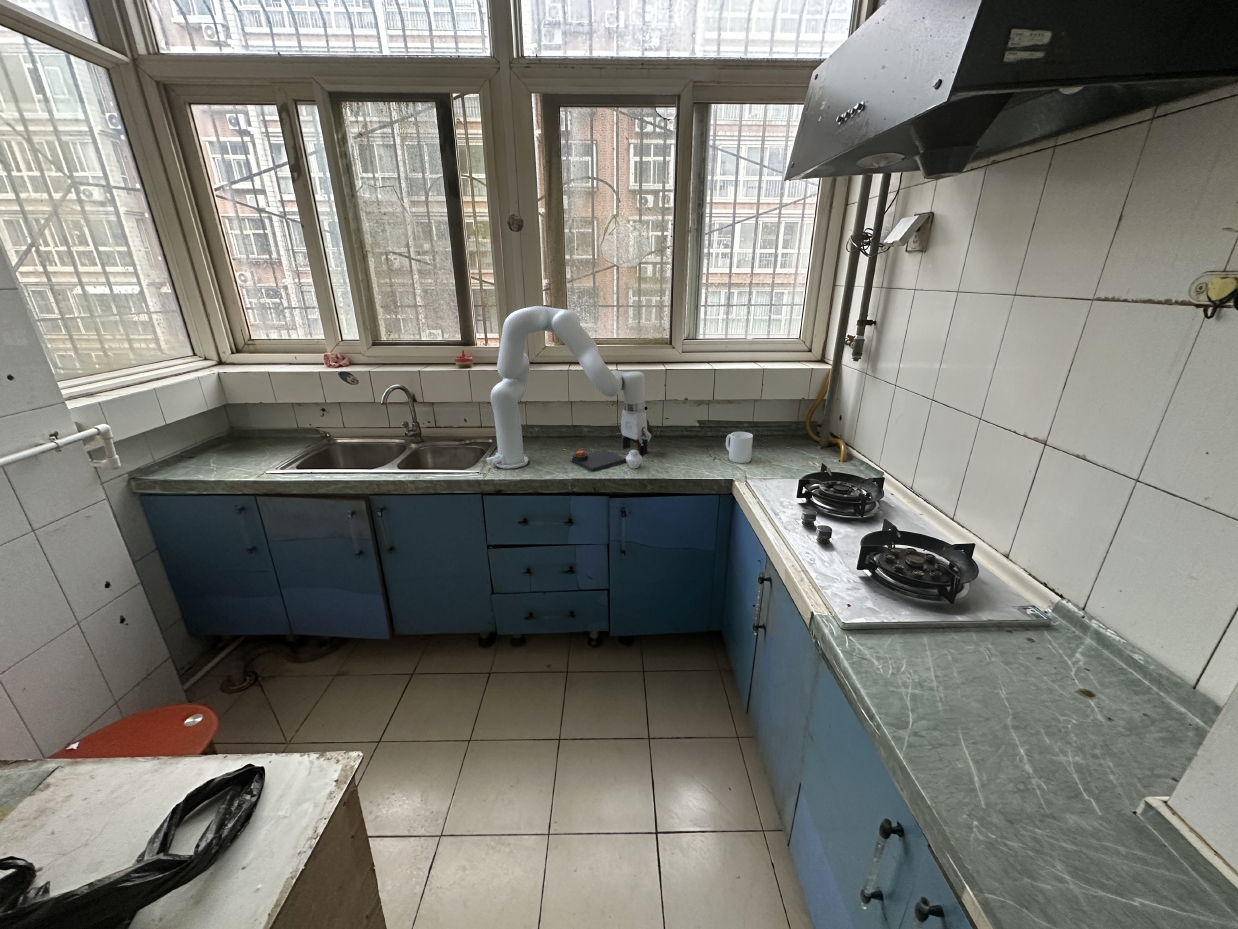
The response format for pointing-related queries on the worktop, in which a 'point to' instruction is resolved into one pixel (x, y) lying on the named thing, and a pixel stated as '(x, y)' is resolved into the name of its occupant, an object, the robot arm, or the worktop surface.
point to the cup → (739, 446)
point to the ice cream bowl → (643, 439)
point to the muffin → (634, 459)
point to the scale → (598, 460)
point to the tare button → (580, 453)
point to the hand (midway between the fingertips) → (634, 451)
